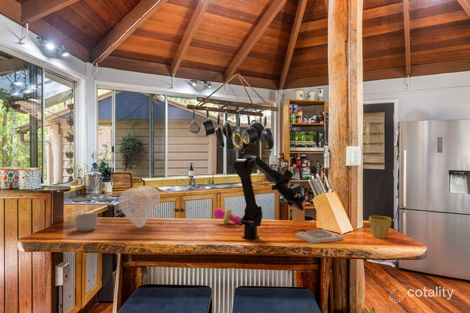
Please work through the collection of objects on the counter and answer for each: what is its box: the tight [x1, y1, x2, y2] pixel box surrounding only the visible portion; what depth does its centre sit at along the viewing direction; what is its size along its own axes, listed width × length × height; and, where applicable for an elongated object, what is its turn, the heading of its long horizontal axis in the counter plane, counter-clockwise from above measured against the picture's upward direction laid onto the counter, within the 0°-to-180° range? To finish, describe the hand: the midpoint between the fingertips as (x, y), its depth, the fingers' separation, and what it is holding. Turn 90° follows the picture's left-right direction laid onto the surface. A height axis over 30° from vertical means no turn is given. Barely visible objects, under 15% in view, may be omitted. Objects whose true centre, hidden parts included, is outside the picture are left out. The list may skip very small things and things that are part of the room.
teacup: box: [74, 212, 98, 232], centre depth 167 cm, size 14×11×8 cm
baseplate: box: [294, 229, 344, 244], centre depth 155 cm, size 18×14×3 cm
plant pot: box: [368, 215, 392, 239], centre depth 158 cm, size 10×10×10 cm
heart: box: [118, 185, 161, 229], centre depth 172 cm, size 28×16×22 cm, turn 168°
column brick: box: [291, 199, 306, 223], centre depth 173 cm, size 5×5×13 cm
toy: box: [213, 207, 243, 225], centre depth 183 cm, size 10×18×10 cm, turn 78°
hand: (300, 209), depth 174 cm, fingers closed on column brick, 5 cm apart
